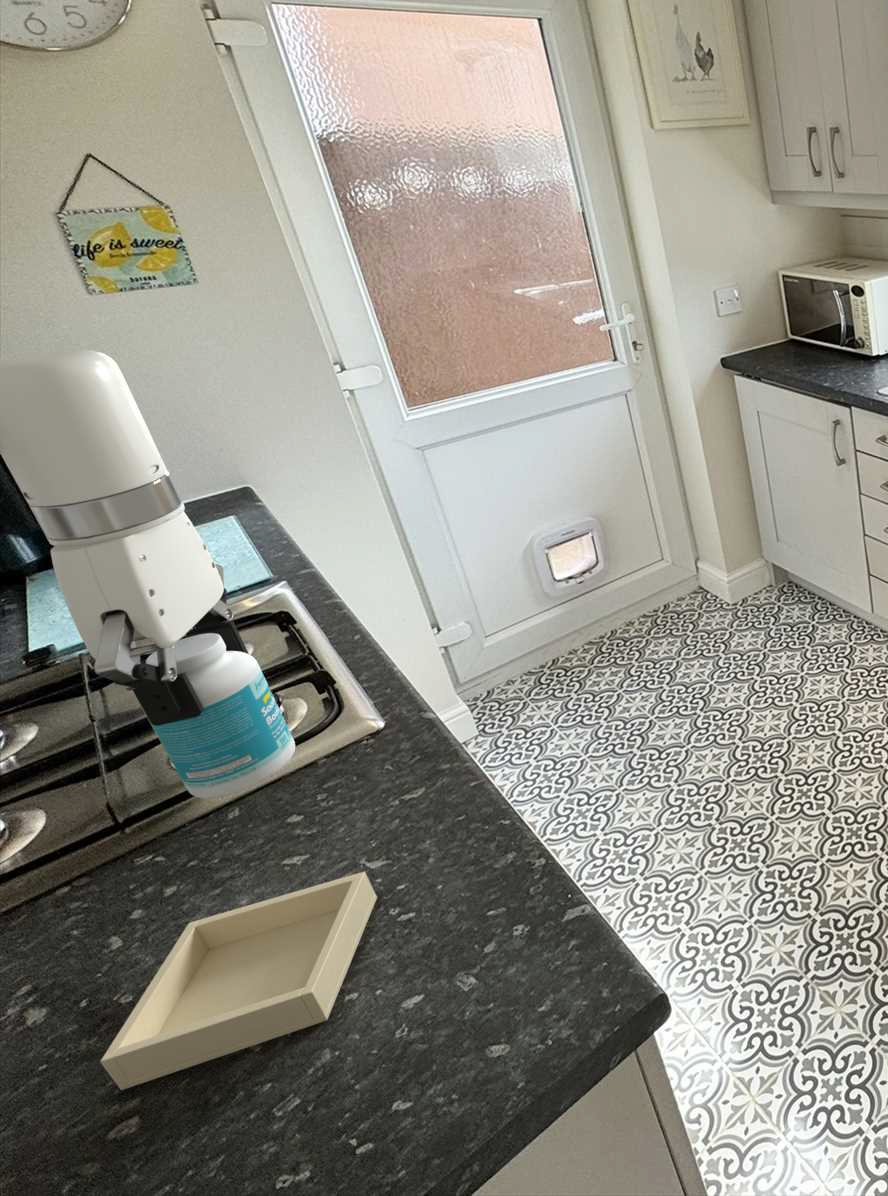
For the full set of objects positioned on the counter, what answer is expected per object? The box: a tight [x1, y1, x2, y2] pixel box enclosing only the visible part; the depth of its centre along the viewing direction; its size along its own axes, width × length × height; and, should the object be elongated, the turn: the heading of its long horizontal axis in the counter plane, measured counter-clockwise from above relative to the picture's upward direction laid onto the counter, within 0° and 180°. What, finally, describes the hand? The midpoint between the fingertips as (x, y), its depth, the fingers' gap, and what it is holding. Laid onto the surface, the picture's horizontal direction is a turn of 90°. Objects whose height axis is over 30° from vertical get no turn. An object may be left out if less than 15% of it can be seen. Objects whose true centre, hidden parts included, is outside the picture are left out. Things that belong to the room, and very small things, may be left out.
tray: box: [100, 871, 378, 1091], centre depth 69 cm, size 14×13×4 cm
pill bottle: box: [140, 633, 296, 800], centre depth 69 cm, size 8×7×14 cm
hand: (204, 688), depth 68 cm, fingers closed on pill bottle, 7 cm apart
